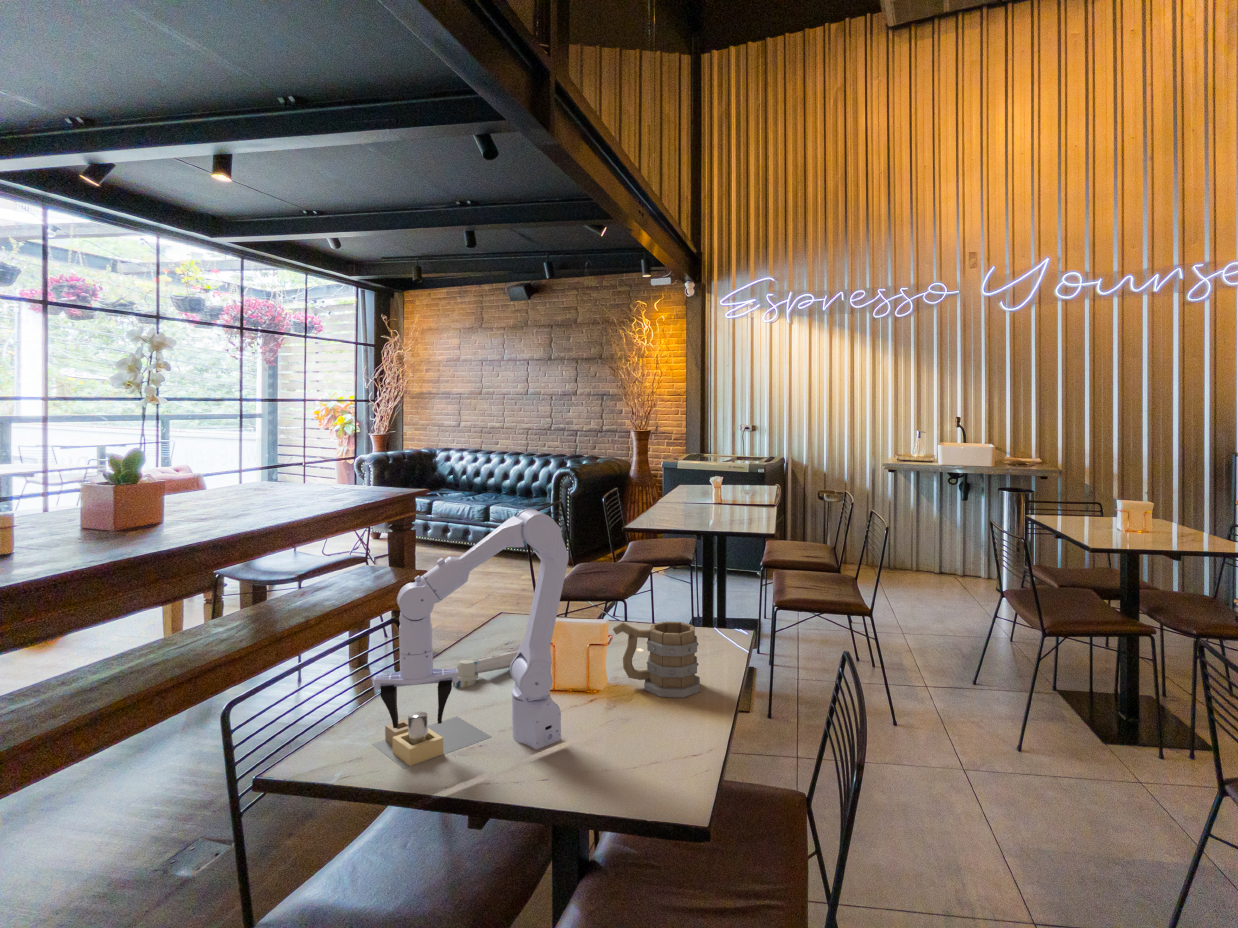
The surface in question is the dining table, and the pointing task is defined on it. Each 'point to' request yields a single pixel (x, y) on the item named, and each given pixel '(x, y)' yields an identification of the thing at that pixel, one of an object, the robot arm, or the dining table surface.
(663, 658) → the tankard
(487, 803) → the dining table surface
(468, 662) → the toothbrush head
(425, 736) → the metal round peg
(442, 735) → the fitting board
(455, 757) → the dining table surface
